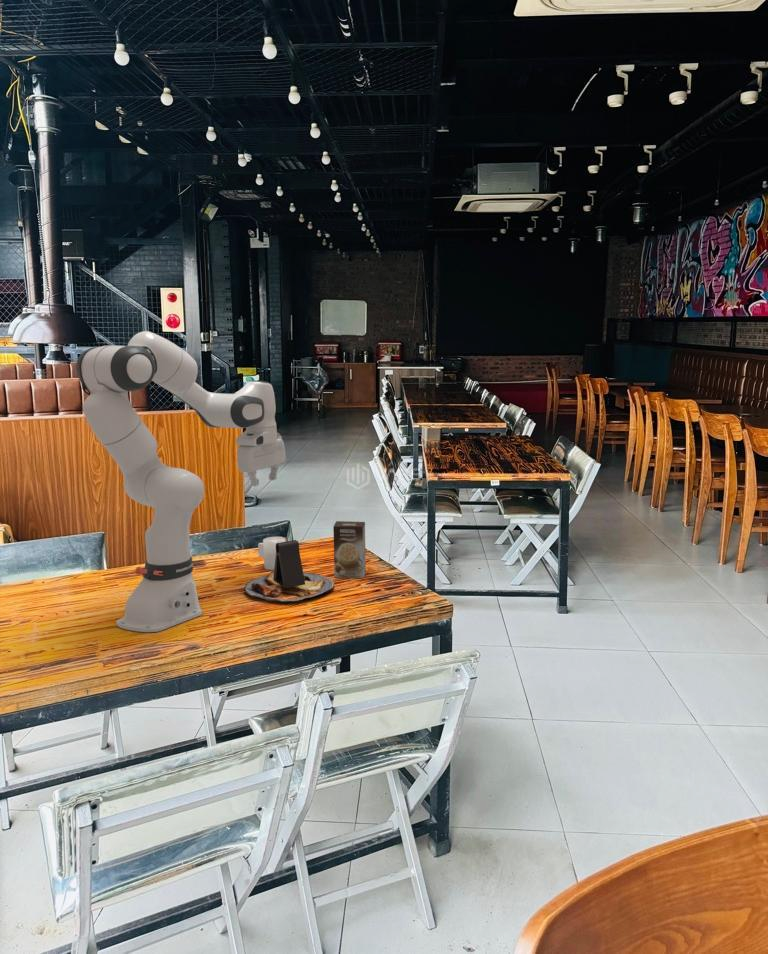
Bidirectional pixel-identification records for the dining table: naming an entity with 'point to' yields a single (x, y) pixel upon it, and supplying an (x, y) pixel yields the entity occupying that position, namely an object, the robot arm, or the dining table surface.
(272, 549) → the white ceramic cup
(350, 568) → the coffee box
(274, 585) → the food plate
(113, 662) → the dining table surface
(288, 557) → the door stopper
